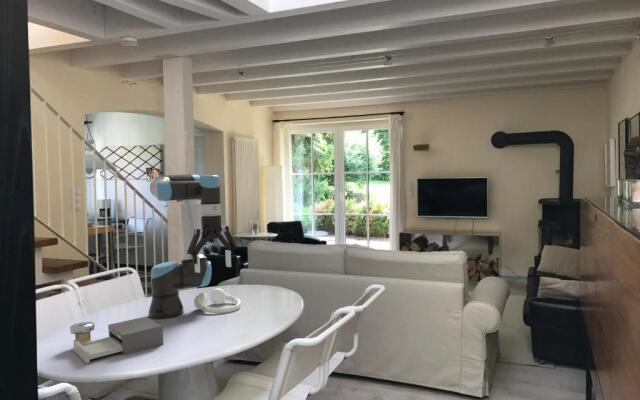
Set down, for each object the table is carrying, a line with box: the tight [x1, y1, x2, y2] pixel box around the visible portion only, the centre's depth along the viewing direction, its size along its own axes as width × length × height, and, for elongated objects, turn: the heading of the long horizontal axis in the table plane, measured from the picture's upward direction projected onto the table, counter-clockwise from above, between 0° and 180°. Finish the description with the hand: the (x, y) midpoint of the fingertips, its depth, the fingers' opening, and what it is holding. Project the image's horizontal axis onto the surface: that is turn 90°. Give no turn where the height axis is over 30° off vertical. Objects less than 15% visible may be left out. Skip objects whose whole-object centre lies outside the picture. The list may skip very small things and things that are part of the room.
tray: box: [72, 336, 123, 365], centre depth 160 cm, size 14×17×4 cm
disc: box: [69, 321, 96, 335], centre depth 167 cm, size 8×8×2 cm
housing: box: [107, 316, 164, 356], centre depth 168 cm, size 14×17×7 cm
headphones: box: [193, 288, 242, 314], centre depth 214 cm, size 20×8×20 cm
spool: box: [74, 331, 92, 344], centre depth 167 cm, size 5×5×6 cm
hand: (213, 269), depth 176 cm, fingers open, 13 cm apart
